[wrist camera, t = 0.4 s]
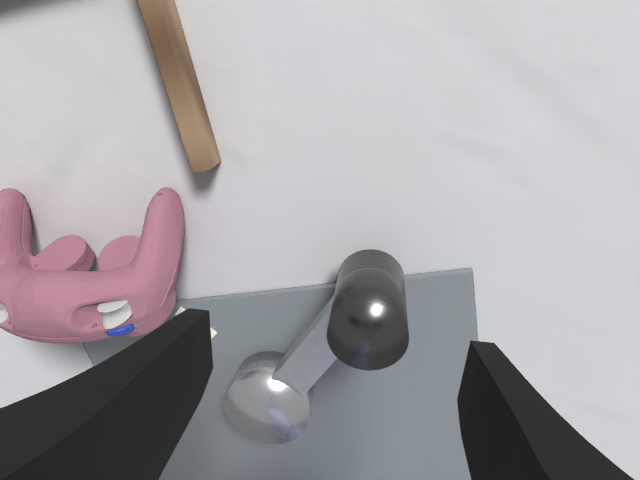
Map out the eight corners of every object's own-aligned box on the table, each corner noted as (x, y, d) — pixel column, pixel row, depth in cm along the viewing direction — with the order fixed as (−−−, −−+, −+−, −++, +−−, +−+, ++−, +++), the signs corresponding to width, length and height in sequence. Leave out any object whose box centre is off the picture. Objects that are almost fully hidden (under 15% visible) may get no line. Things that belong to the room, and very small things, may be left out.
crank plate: (487, 485, 27) (490, 495, 26) (160, 491, 31) (156, 499, 31) (471, 267, 21) (473, 273, 20) (73, 311, 25) (66, 317, 25)
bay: (221, 161, 20) (209, 170, 19) (-35, 206, 23) (-60, 216, 22) (148, -90, 17) (127, -102, 15) (-146, 1, 20) (-185, -2, 18)
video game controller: (46, 237, 25) (-24, 351, 21) (-6, 179, 22) (-104, 300, 18) (210, 239, 24) (171, 361, 20) (182, 177, 21) (126, 308, 16)
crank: (287, 424, 26) (265, 511, 21) (223, 386, 25) (185, 467, 20) (428, 272, 21) (442, 343, 16) (351, 220, 20) (341, 277, 15)
